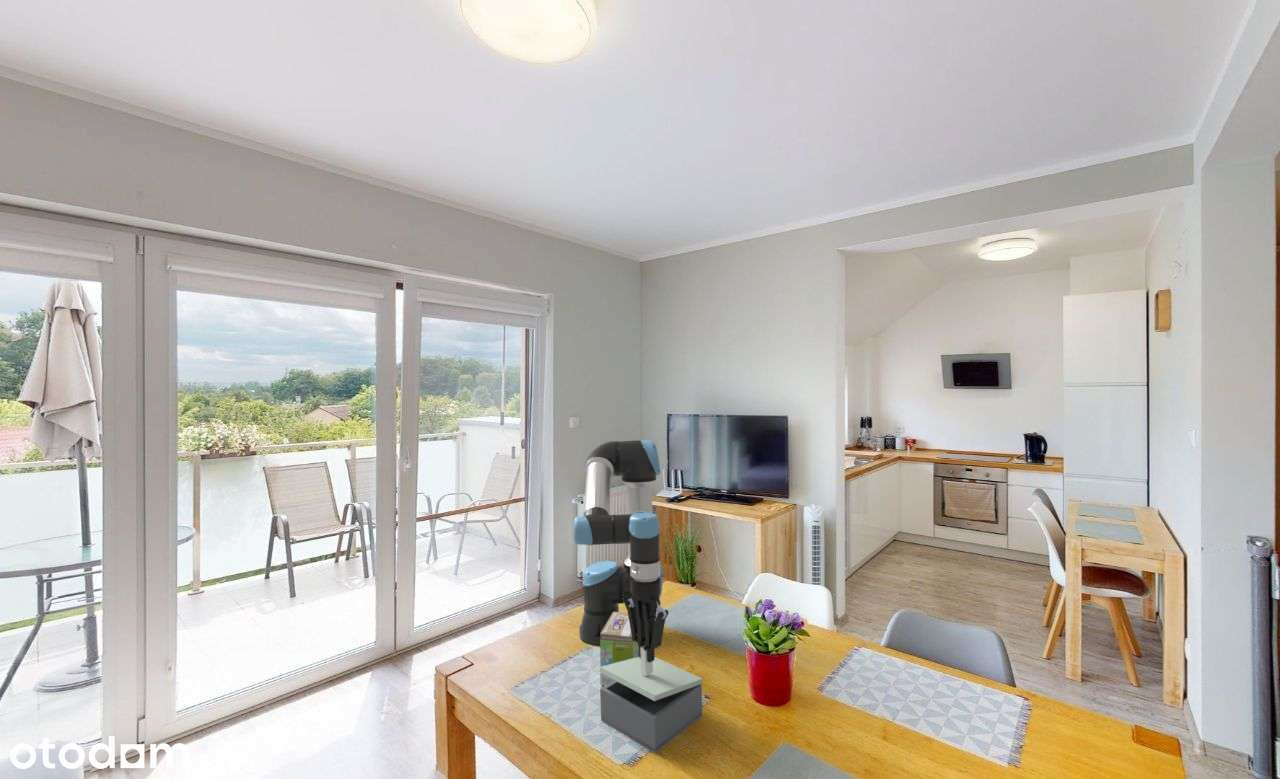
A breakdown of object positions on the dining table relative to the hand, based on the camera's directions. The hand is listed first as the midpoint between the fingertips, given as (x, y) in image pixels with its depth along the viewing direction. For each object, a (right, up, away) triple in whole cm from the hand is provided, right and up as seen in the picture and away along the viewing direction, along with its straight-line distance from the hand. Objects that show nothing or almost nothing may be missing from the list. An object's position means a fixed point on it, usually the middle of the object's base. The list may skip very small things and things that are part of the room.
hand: (647, 672), depth 130 cm
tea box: (-7, -13, +23) cm, 27 cm away
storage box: (+1, -12, +2) cm, 13 cm away
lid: (+1, -2, +2) cm, 3 cm away
